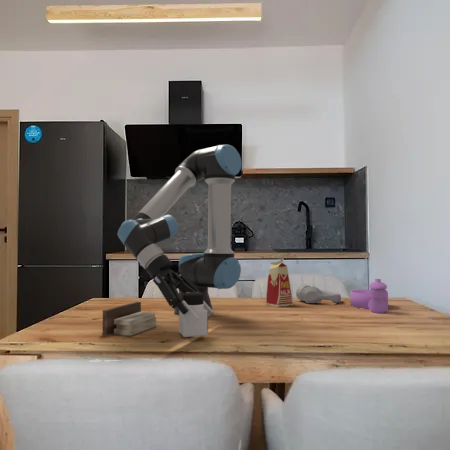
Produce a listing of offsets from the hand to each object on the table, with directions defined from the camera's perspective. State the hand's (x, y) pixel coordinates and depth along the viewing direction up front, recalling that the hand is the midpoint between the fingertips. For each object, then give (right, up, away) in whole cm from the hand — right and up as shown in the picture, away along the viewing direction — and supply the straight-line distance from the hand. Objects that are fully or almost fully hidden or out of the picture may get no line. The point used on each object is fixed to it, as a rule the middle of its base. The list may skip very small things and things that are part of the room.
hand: (202, 318), depth 118 cm
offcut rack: (-22, -7, +8) cm, 24 cm away
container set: (+68, -8, +53) cm, 87 cm away
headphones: (+50, -9, +72) cm, 88 cm away
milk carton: (+30, -9, +63) cm, 70 cm away
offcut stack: (-21, -5, +8) cm, 23 cm away
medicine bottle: (-3, -5, +1) cm, 6 cm away
